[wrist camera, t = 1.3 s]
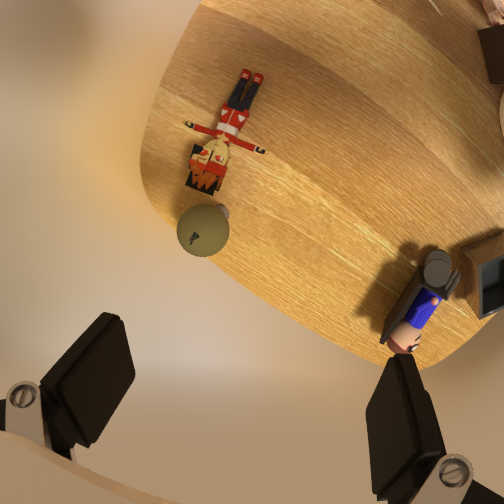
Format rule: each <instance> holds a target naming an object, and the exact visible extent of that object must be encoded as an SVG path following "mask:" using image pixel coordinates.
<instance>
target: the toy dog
mask: <svg viewBox="0 0 504 504" xmlns="http://www.w3.org/2000/svg"><path fill="white" fill-rule="evenodd" d="M480 1H481V2H482V5H483V8H484V10H485V12H486V14H487V16H488V17H489V19H490V21H491V23H492V25H493V26H497V25H500V23H499V22H496V21H495V19H494V11H495V10H497V12H498V13H499V15H500V16H501V18H502V19H504V16H503V15H502V14H501V11H502V12H503V14H504V5H503V1H502V0H480ZM500 10H501V11H500ZM491 18H492V19H491ZM492 20H493V21H492Z"/></svg>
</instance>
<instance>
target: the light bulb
mask: <svg viewBox="0 0 504 504" xmlns="http://www.w3.org/2000/svg"><path fill="white" fill-rule="evenodd" d="M228 218H229V212H228V210H227V208H226V207H224V206H223V205H216V206H212V205H209V204H199V205H195V206H192V207H190V208H189V209H187V210H186V211H185V212H184V213H183V214H182V215H181V217H180V219H179V221H178V225H177V237H178V240H179V242H180V244H181V246H182V247H183V248H184V249H185V250H186V251H187V252H188V253H190V254H192V255H195V256H199V257H207V256H211V255H214V254H216V253H217V252H219V251H220V250H221V249H222V248H223V247H224V245H225V244H226V242H227V240H228V237H229V223H228Z"/></svg>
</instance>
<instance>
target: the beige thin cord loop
mask: <svg viewBox="0 0 504 504" xmlns="http://www.w3.org/2000/svg"><path fill="white" fill-rule="evenodd" d="M429 1H430V3H431V4H432V5H433V7H434V8H435V9H436V11H437V12H438V13H439V14H440V16H443V15H442V13H441V12H440V10H439V9H438V7H437V6H436V5H435V3H434V2H433V1H432V0H429Z"/></svg>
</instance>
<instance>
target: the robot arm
mask: <svg viewBox="0 0 504 504" xmlns="http://www.w3.org/2000/svg"><path fill="white" fill-rule="evenodd" d="M500 124H501V129H502V133H503V136H504V91H503V94H502V97H501V101H500ZM134 378H135V369H134V365H133V361H132V357H131V353H130V349H129V345H128V340H127V336H126V332H125V327H124V323H123V321H122V320H120V317H119V316H118V315H115V314H111V313H107V312H103V313H102V314H101V315H100V316H99V317H98V318H97V319H96V320H95V321H94V322H93V323H92V324H91V325H90V326H89V327H88V328H87V330H86V331H85V332H84V333H83V334H82V335H81V336H80V337H79V338H78V339H77V341H75V343H73V345H72V346H71V347H70V348H69V349H68V350H67V351H66V352H65V353H64V355H63V356H62V357H61V358H60V359H59V360H58V361H57V362H56V363H55V365H54V366H53V367H52V368H51V369H50V370H49V371H48V373H47V374H46V375H45V376H44V377H43V378H42V380H41V381H40V383H41V385H40V386H39V387H38V386H37V385H36V384H35V383H33V382H30V381H22V382H19V383H17V384H15V385H13V386H12V387H11V388H10V390H9V391H8V393H7V397H6V399H3V400H0V504H180V503H175V502H172V501H169V500H166V499H163V498H159V497H156V496H153V495H150V494H147V493H145V492H141V491H139V490H136V489H133V488H131V487H128V486H125V485H123V484H121V483H118V482H116V481H113V480H111V479H108V478H106V477H104V476H102V475H99V474H97V473H95V472H93V471H91V470H89V469H87V468H84V467H82V466H80V465H78V464H77V461H76V457H75V452H74V445H75V443H78V444H80V445H82V446H84V447H86V448H89V447H90V445H91V443H95V442H96V441H97V440H98V438H99V436H100V435H101V433H102V431H103V430H104V428H105V426H106V424H107V423H108V421H109V420H110V418H111V416H112V415H113V413H114V411H115V410H116V408H117V406H118V405H119V403H120V402H121V400H122V398H123V397H124V395H125V394H126V392H127V390H128V389H129V387H130V385H131V384H132V382H133V381H134ZM366 422H367V432H368V441H369V453H370V465H371V480H372V492H373V494H377V501H385V500H388V504H504V498H503V497H501V496H500V495H498V494H496V493H495V492H493V491H491V490H490V489H488V488H486V487H484V486H483V485H481V484H480V483H478V482H476V481H475V480H473V479H472V478H473V468H472V465H471V463H470V462H469V460H468V459H467V458H465V457H464V456H462V455H459V454H448V455H447V453H446V449H445V445H444V442H443V438H442V434H441V431H440V427H439V424H438V421H437V417H436V414H435V411H434V407H433V404H432V401H431V398H430V395H429V393H428V392H427V391H426V390H425V389H424V386H423V383H422V380H421V377H420V374H419V371H418V369H417V366H416V363H415V360H414V357H413V355H412V354H404V353H396V354H395V355H394V356H393V357H390V358H389V359H388V361H387V364H386V366H385V368H384V371H383V373H382V376H381V378H380V380H379V382H378V384H377V387H376V389H375V391H374V393H373V395H372V397H371V399H370V401H369V403H368V406H367V408H366Z"/></svg>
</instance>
